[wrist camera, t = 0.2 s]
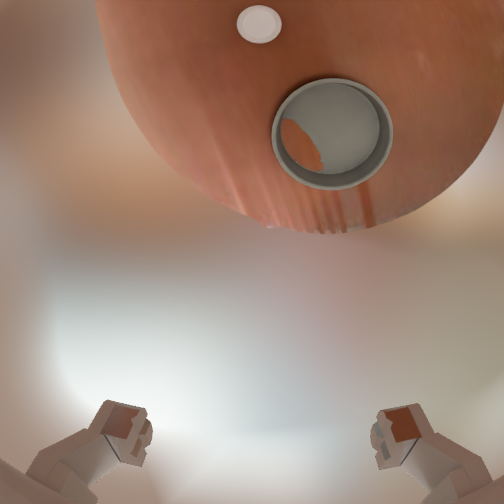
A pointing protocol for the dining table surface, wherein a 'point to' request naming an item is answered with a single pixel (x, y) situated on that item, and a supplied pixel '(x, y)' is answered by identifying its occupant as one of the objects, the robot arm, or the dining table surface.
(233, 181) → the dining table surface
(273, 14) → the supplement bottle
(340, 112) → the cake pan
